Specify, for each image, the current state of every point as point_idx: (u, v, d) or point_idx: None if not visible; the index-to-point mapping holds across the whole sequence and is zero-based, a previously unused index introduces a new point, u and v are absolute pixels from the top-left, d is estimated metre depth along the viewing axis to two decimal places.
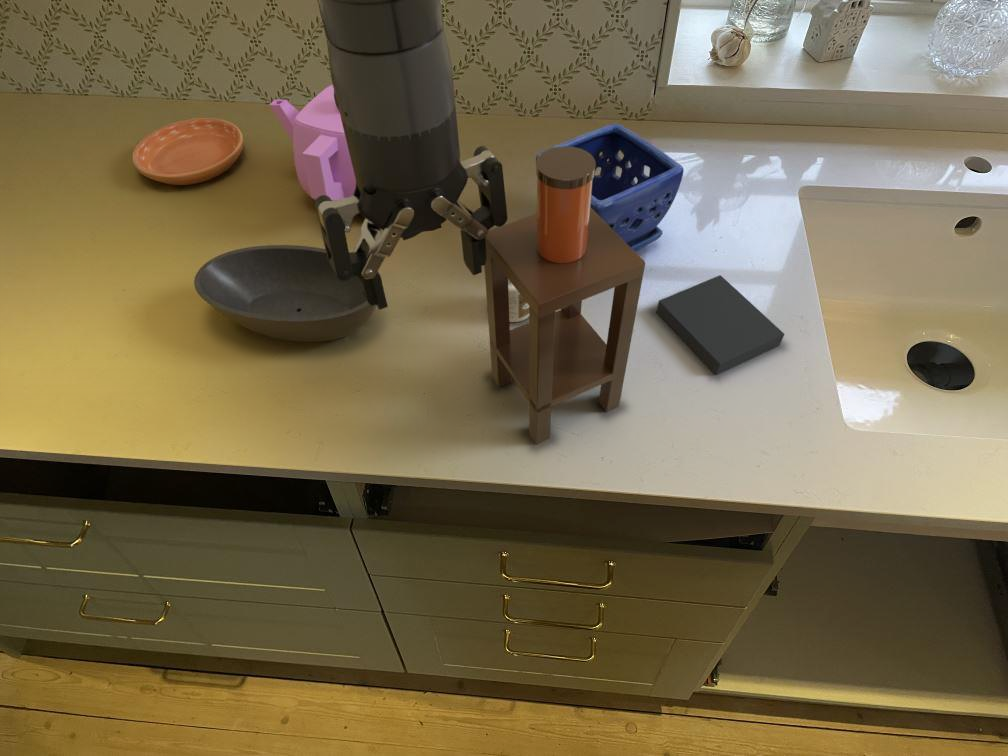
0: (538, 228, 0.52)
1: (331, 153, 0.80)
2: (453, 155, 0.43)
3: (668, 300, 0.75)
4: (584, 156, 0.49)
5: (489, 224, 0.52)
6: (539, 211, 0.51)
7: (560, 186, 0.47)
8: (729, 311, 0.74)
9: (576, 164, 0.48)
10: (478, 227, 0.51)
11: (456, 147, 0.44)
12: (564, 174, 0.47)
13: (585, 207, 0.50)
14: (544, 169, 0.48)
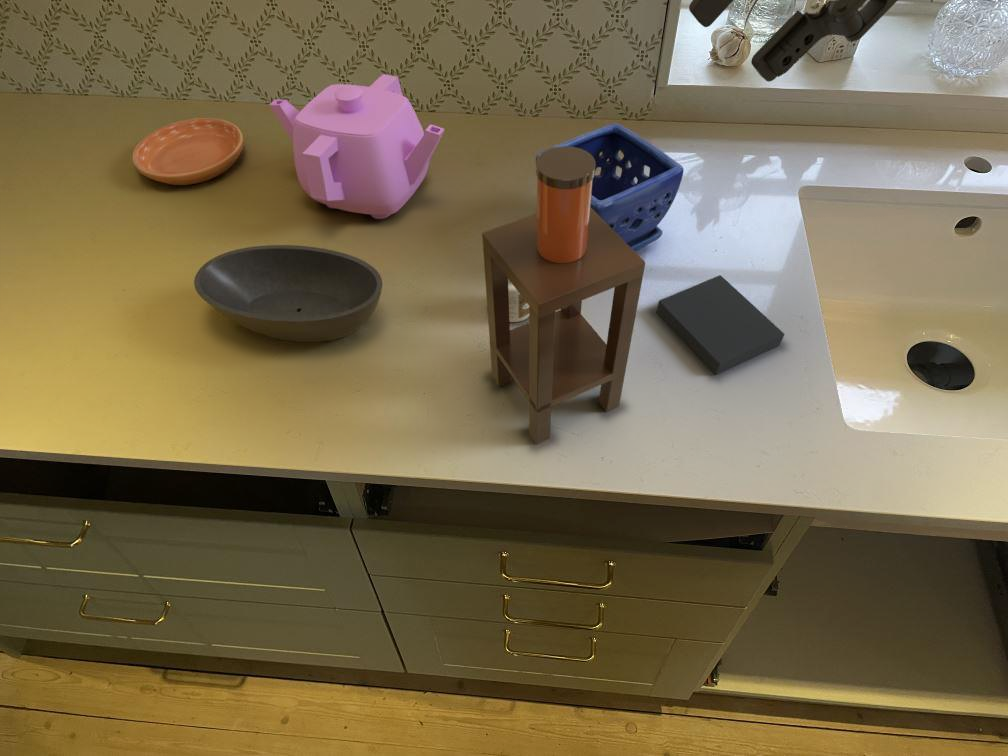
0: (538, 228, 0.52)
1: (331, 153, 0.80)
2: None
3: (668, 300, 0.75)
4: (584, 156, 0.49)
5: (830, 14, 0.39)
6: (539, 211, 0.51)
7: (560, 186, 0.47)
8: (729, 311, 0.74)
9: (576, 164, 0.48)
10: None
11: None
12: (564, 174, 0.47)
13: (585, 207, 0.50)
14: (544, 169, 0.48)
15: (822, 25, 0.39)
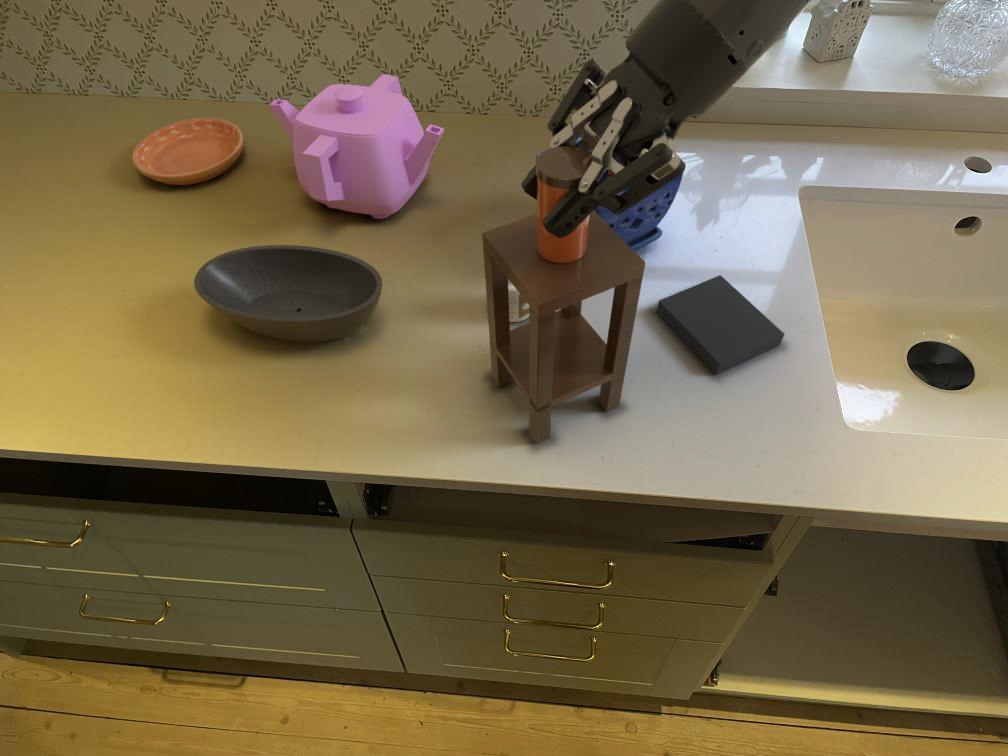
0: (538, 228, 0.52)
1: (331, 153, 0.80)
2: (670, 55, 0.41)
3: (668, 300, 0.75)
4: (584, 156, 0.49)
5: None
6: (539, 211, 0.51)
7: (560, 186, 0.47)
8: (729, 311, 0.74)
9: (576, 164, 0.48)
10: (590, 175, 0.46)
11: (680, 59, 0.41)
12: (564, 174, 0.47)
13: None
14: (544, 169, 0.48)
15: (592, 200, 0.47)
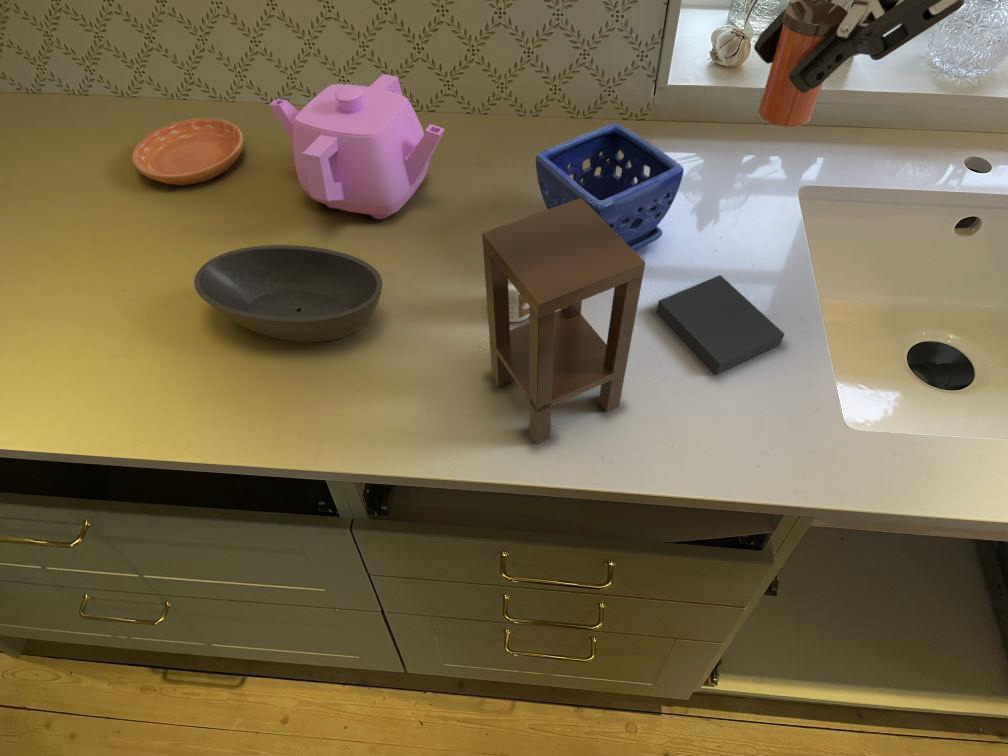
0: (771, 89, 0.52)
1: (331, 153, 0.80)
2: None
3: (668, 300, 0.75)
4: (833, 7, 0.48)
5: (857, 36, 0.46)
6: (778, 68, 0.51)
7: (816, 33, 0.47)
8: (729, 311, 0.74)
9: (828, 13, 0.48)
10: (852, 19, 0.46)
11: None
12: (820, 20, 0.47)
13: None
14: (797, 17, 0.48)
15: (851, 46, 0.47)
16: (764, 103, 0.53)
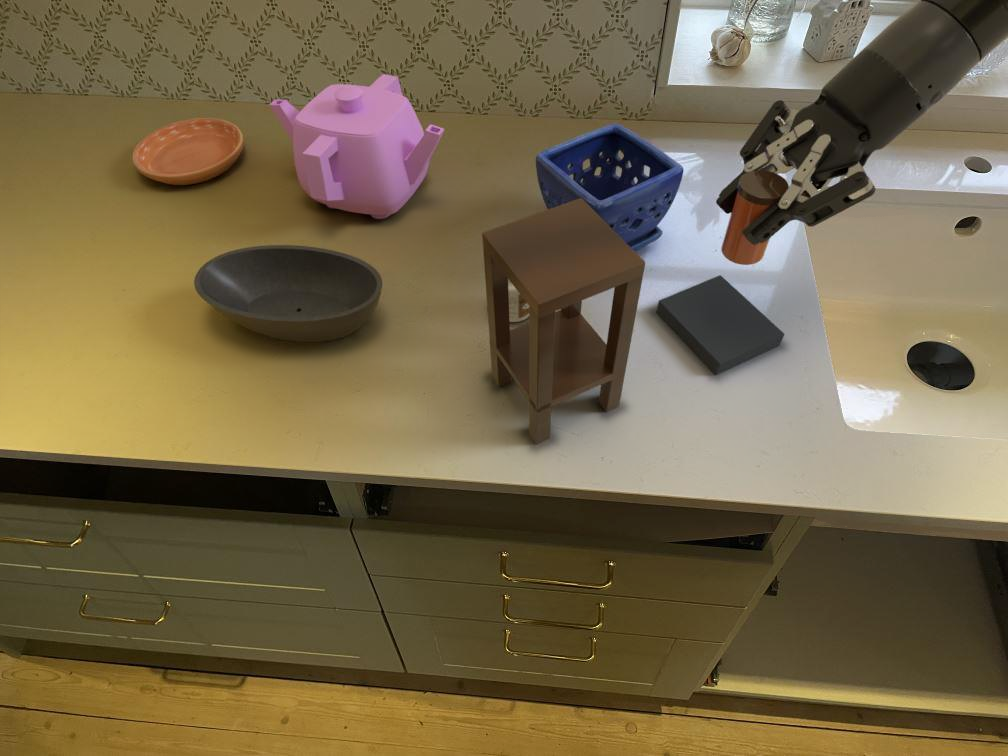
0: (729, 236, 0.64)
1: (331, 153, 0.80)
2: (870, 103, 0.53)
3: (668, 300, 0.75)
4: (777, 178, 0.60)
5: (794, 209, 0.58)
6: (734, 222, 0.62)
7: (762, 203, 0.59)
8: (729, 311, 0.74)
9: (773, 185, 0.60)
10: (790, 195, 0.58)
11: (878, 106, 0.53)
12: (766, 193, 0.59)
13: None
14: (748, 189, 0.59)
15: (790, 215, 0.58)
16: (725, 245, 0.65)
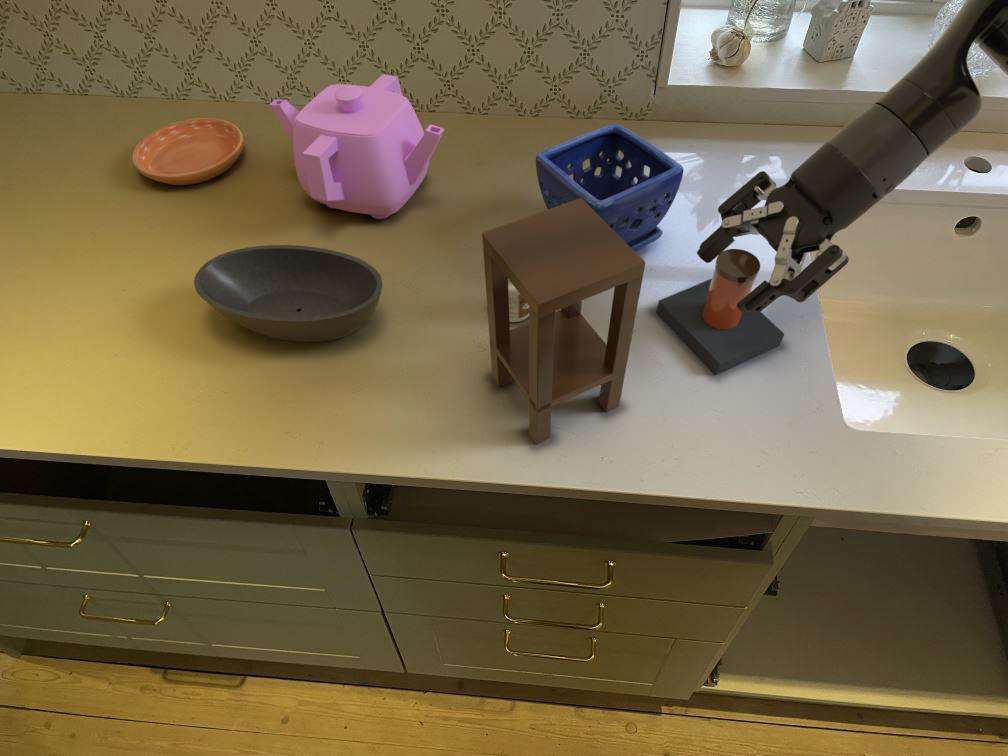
0: (709, 305, 0.71)
1: (331, 153, 0.80)
2: (832, 193, 0.60)
3: (668, 300, 0.75)
4: (750, 257, 0.68)
5: (784, 287, 0.63)
6: (713, 294, 0.70)
7: (736, 280, 0.66)
8: None
9: (746, 264, 0.67)
10: (780, 273, 0.63)
11: (839, 196, 0.60)
12: (740, 272, 0.66)
13: (749, 292, 0.69)
14: (724, 268, 0.67)
15: (780, 291, 0.64)
16: (705, 311, 0.72)
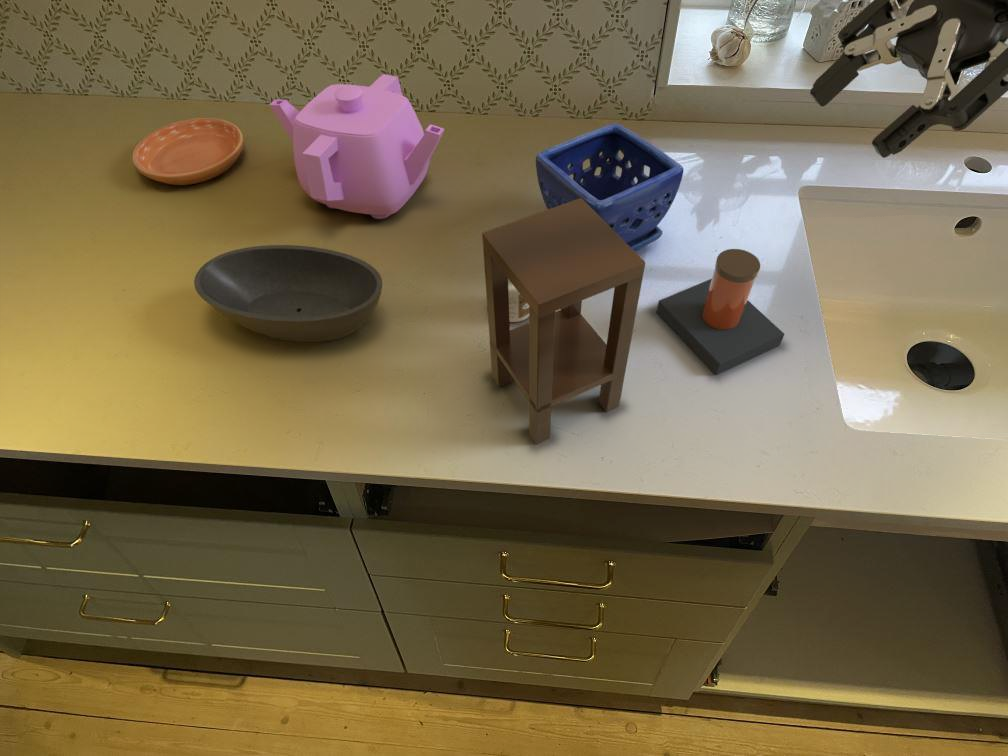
0: (709, 305, 0.71)
1: (331, 153, 0.80)
2: None
3: (668, 300, 0.75)
4: (750, 257, 0.68)
5: (941, 109, 0.49)
6: (713, 294, 0.70)
7: (736, 280, 0.66)
8: None
9: (746, 264, 0.67)
10: (935, 93, 0.49)
11: None
12: (740, 272, 0.66)
13: (749, 292, 0.69)
14: (724, 268, 0.67)
15: (933, 117, 0.50)
16: (705, 311, 0.72)
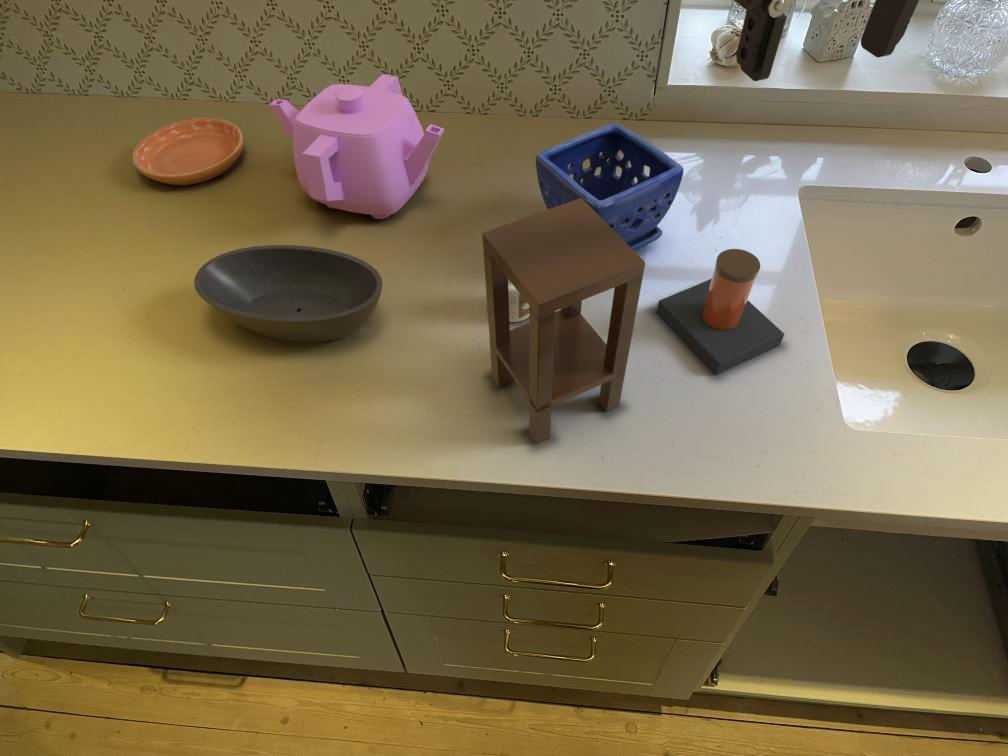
0: (709, 305, 0.71)
1: (331, 153, 0.80)
2: None
3: (668, 300, 0.75)
4: (750, 257, 0.68)
5: None
6: (713, 294, 0.70)
7: (736, 280, 0.66)
8: None
9: (746, 264, 0.67)
10: None
11: None
12: (740, 272, 0.66)
13: (749, 292, 0.69)
14: (724, 268, 0.67)
15: None
16: (705, 311, 0.72)
